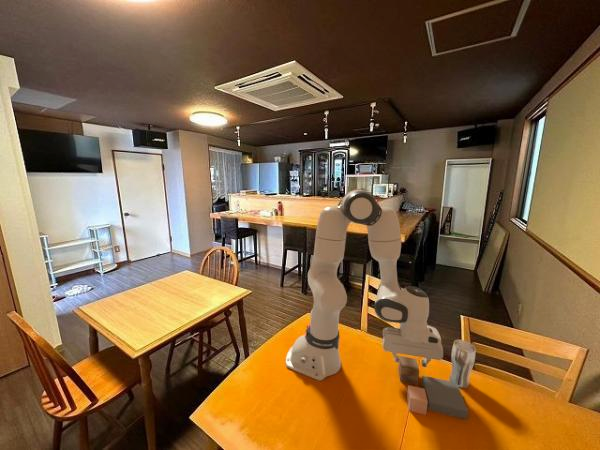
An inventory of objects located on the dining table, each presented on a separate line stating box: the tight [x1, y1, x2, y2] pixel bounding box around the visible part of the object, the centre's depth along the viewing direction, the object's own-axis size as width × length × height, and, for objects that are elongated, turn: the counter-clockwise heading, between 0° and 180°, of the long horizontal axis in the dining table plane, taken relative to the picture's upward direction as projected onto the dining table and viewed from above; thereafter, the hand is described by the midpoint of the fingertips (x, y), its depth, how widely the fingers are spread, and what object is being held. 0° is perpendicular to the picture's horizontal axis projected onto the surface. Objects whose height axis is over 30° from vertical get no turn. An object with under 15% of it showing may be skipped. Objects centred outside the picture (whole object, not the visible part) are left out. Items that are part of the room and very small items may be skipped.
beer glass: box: [449, 339, 477, 389], centre depth 87 cm, size 7×7×15 cm
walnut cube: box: [397, 355, 420, 386], centre depth 90 cm, size 6×6×6 cm
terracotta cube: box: [406, 384, 428, 416], centre depth 78 cm, size 5×5×5 cm
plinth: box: [421, 375, 469, 420], centre depth 81 cm, size 11×11×3 cm
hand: (410, 363), depth 90 cm, fingers open, 8 cm apart
